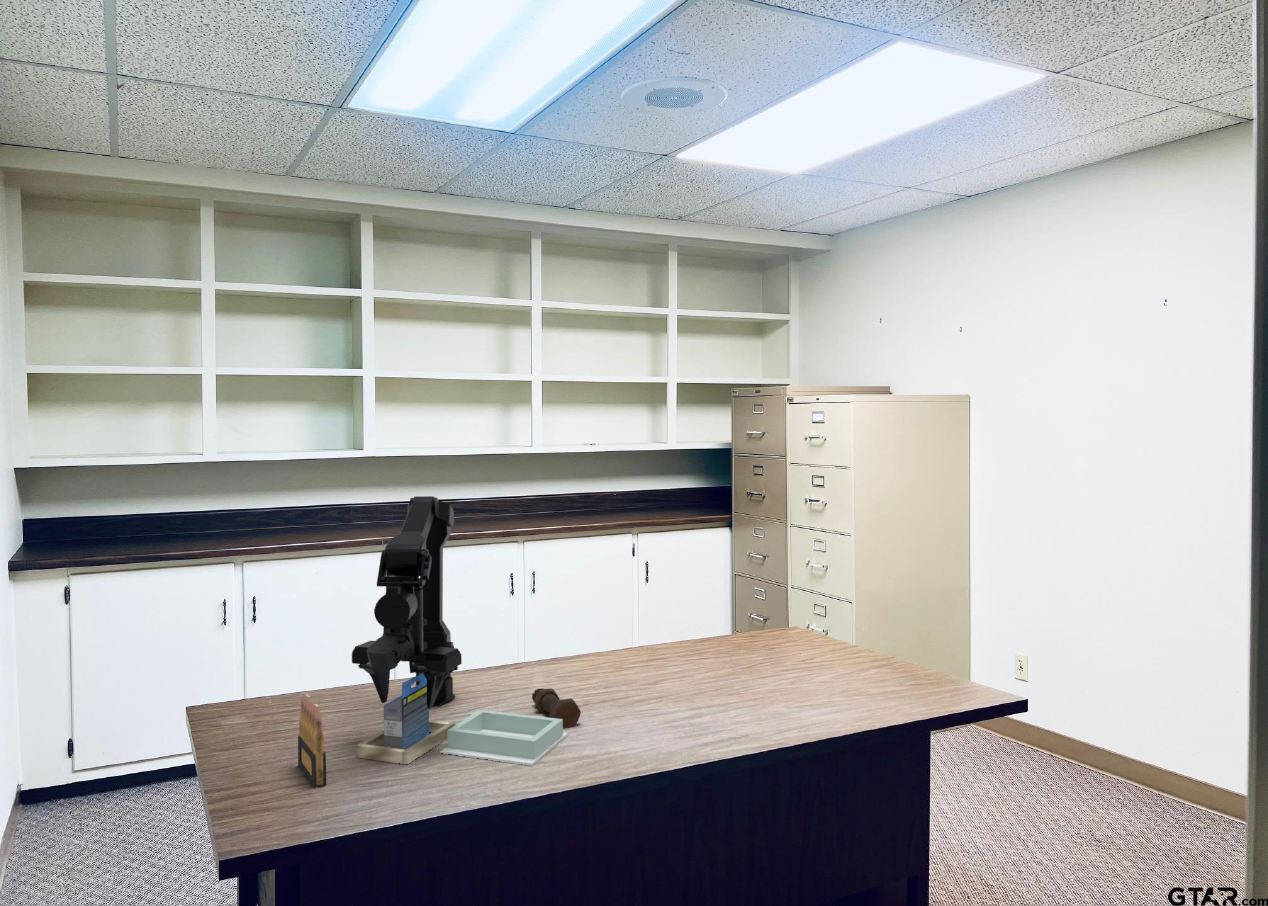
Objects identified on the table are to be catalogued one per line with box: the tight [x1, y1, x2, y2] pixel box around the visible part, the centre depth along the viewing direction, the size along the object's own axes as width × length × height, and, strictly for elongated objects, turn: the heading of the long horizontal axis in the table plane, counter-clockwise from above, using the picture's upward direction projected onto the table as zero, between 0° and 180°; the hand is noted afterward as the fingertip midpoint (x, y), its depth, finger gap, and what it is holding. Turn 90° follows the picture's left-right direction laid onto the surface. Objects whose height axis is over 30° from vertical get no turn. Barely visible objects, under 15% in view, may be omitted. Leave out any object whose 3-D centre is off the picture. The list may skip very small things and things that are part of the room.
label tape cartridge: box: [383, 673, 430, 750], centre depth 152 cm, size 9×4×12 cm, turn 163°
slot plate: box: [440, 709, 569, 767], centre depth 152 cm, size 17×15×3 cm
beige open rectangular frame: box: [355, 719, 456, 765], centre depth 152 cm, size 10×15×2 cm, turn 161°
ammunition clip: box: [297, 693, 327, 789], centre depth 139 cm, size 11×2×12 cm, turn 33°
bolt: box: [531, 687, 582, 730], centre depth 167 cm, size 6×5×15 cm
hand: (406, 705), depth 152 cm, fingers open, 9 cm apart
